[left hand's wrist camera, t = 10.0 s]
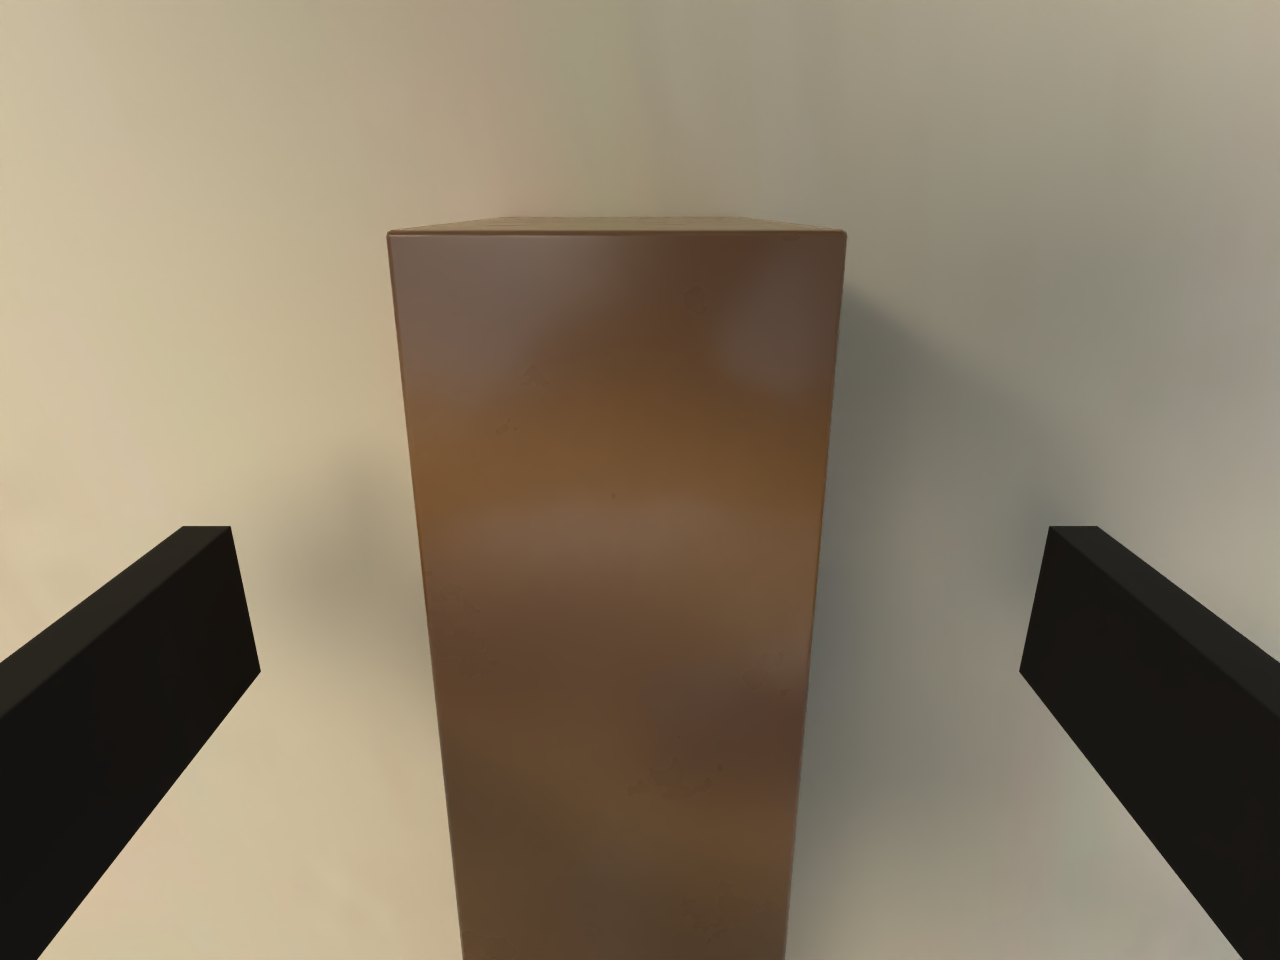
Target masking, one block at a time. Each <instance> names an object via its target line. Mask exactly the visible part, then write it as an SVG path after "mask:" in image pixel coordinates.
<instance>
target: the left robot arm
mask: <svg viewBox="0 0 1280 960" xmlns="http://www.w3.org/2000/svg"><path fill="white" fill-rule="evenodd" d="M260 672H261V670H260V665H259V660H258V655H257V651H256V646H255V641H254V636H253V631H252V627H251V622H250V617H249V612H248V607H247V603H246V598H245V593H244V588H243V583H242V579H241V574H240V569H239V564H238V559H237V555H236V550H235V545H234V540H233V535H232V531H231V526H182V527H181V528H180V529H178V530H177V531H176V532H174V533H173V534H172V535H170V536H169V537H168V538H166V539H165V540H164V541H162V542H161V543H160V544H158V545H157V546H156V547H154V548H153V549H152V550H150V551H149V552H148V553H146V554H145V555H144V556H142V557H141V558H140V559H138V560H137V561H136V562H134V563H133V564H132V565H130V566H129V567H128V568H126V569H125V570H124V571H122V572H121V573H120V574H118V575H117V576H116V577H114V578H113V579H112V580H110V581H109V582H108V583H106V584H105V585H104V586H102V587H101V588H100V589H98V590H97V591H96V592H94V593H93V594H92V595H90V596H89V597H88V598H86V599H85V600H84V601H82V602H81V603H80V604H78V605H77V606H76V607H74V608H73V609H72V610H70V611H69V612H68V613H66V614H65V615H64V616H62V617H61V618H60V619H58V620H57V621H56V622H54V623H53V624H52V625H50V626H49V627H48V628H46V629H45V630H44V631H42V632H41V633H40V634H38V635H37V636H36V637H34V638H33V639H32V640H30V641H29V642H28V643H26V644H25V645H24V646H22V647H21V648H20V649H18V650H17V651H16V652H14V653H13V654H12V655H10V656H9V657H8V658H6V659H5V660H4V661H2V662H1V663H0V960H37V959H38V958H39V956H40V955H41V954H42V953H43V951H44V950H45V949H46V947H47V946H48V945H49V944H50V942H51V941H52V940H53V938H54V937H55V936H56V935H57V933H58V932H59V931H60V929H61V928H62V927H63V926H64V924H65V923H66V922H67V920H68V919H69V918H70V917H71V915H72V914H73V913H74V911H75V910H76V909H77V908H78V906H79V905H80V904H81V902H82V901H83V900H84V898H85V897H86V896H87V895H88V893H89V892H90V891H91V889H92V888H93V887H94V886H95V884H96V883H97V882H98V880H99V879H100V878H101V877H102V875H103V874H104V873H105V871H106V870H107V869H108V868H109V866H110V865H111V864H112V862H113V861H114V860H115V859H116V857H117V856H118V855H119V853H120V852H121V851H122V850H123V848H124V847H125V846H126V844H127V843H128V842H129V841H130V839H131V838H132V837H133V835H134V834H135V833H136V832H137V830H138V829H139V828H140V826H141V825H142V824H143V823H144V821H145V820H146V819H147V817H148V816H149V815H150V814H151V812H152V811H153V810H154V808H155V807H156V806H157V805H158V803H159V802H160V801H161V799H162V798H163V797H164V796H165V794H166V793H167V792H168V790H169V789H170V788H171V787H172V785H173V784H174V783H175V781H176V780H177V779H178V778H179V776H180V775H181V774H182V772H183V771H184V770H185V769H186V767H187V766H188V765H189V763H190V762H191V761H192V760H193V758H194V757H195V756H196V754H197V753H198V752H199V750H200V749H201V748H202V747H203V745H204V744H205V743H206V741H207V740H208V739H209V738H210V736H211V735H212V734H213V732H214V731H215V730H216V729H217V727H218V726H219V725H220V723H221V722H222V721H223V720H224V718H225V717H226V716H227V714H228V713H229V712H230V711H231V709H232V708H233V707H234V705H235V704H236V703H237V702H238V700H239V699H240V698H241V696H242V695H243V694H244V693H245V691H246V690H247V689H248V687H249V686H250V685H251V684H252V682H253V681H254V680H255V678H256V677H257V676H258V675H259V673H260ZM1019 672H1020V673H1021V675H1022V676H1023V677H1024V678H1025V680H1026V681H1027V682H1028V684H1029V685H1030V686H1031V687H1032V689H1033V690H1034V691H1035V693H1036V694H1037V695H1038V696H1039V698H1040V699H1041V700H1042V702H1043V703H1044V704H1045V705H1046V707H1047V708H1048V709H1049V711H1050V712H1051V713H1052V714H1053V716H1054V717H1055V718H1056V720H1057V721H1058V722H1059V723H1060V725H1061V726H1062V727H1063V729H1064V730H1065V731H1066V732H1067V734H1068V735H1069V736H1070V738H1071V739H1072V740H1073V741H1074V743H1075V744H1076V745H1077V747H1078V748H1079V749H1080V750H1081V752H1082V753H1083V754H1084V756H1085V757H1086V758H1087V760H1088V761H1089V762H1090V763H1091V765H1092V766H1093V767H1094V769H1095V770H1096V771H1097V772H1098V774H1099V775H1100V776H1101V778H1102V779H1103V780H1104V781H1105V783H1106V784H1107V785H1108V787H1109V788H1110V789H1111V790H1112V792H1113V793H1114V794H1115V796H1116V797H1117V798H1118V799H1119V801H1120V802H1121V803H1122V805H1123V806H1124V807H1125V808H1126V810H1127V811H1128V812H1129V814H1130V815H1131V816H1132V817H1133V819H1134V820H1135V821H1136V823H1137V824H1138V825H1139V826H1140V828H1141V829H1142V830H1143V832H1144V833H1145V834H1146V835H1147V837H1148V838H1149V839H1150V841H1151V842H1152V843H1153V844H1154V846H1155V847H1156V848H1157V850H1158V851H1159V852H1160V853H1161V855H1162V856H1163V857H1164V859H1165V860H1166V861H1167V862H1168V864H1169V865H1170V866H1171V868H1172V869H1173V870H1174V871H1175V873H1176V874H1177V875H1178V877H1179V878H1180V879H1181V880H1182V882H1183V883H1184V884H1185V886H1186V887H1187V888H1188V889H1189V891H1190V892H1191V893H1192V895H1193V896H1194V897H1195V898H1196V900H1197V901H1198V902H1199V904H1200V905H1201V906H1202V908H1203V909H1204V910H1205V911H1206V913H1207V914H1208V915H1209V917H1210V918H1211V919H1212V920H1213V922H1214V923H1215V924H1216V926H1217V927H1218V928H1219V929H1220V931H1221V932H1222V933H1223V935H1224V936H1225V937H1226V938H1227V940H1228V941H1229V942H1230V944H1231V945H1232V946H1233V947H1234V949H1235V950H1236V951H1237V953H1238V954H1239V955H1240V956H1241V958H1242V959H1243V960H1280V663H1279V662H1278V661H1276V660H1275V659H1274V658H1272V657H1271V656H1270V655H1268V654H1267V653H1266V652H1264V651H1263V650H1262V649H1260V648H1259V647H1258V646H1256V645H1255V644H1254V643H1252V642H1251V641H1250V640H1248V639H1247V638H1246V637H1244V636H1243V635H1242V634H1240V633H1239V632H1238V631H1236V630H1235V629H1234V628H1232V627H1231V626H1230V625H1228V624H1227V623H1226V622H1224V621H1223V620H1222V619H1220V618H1219V617H1218V616H1216V615H1215V614H1214V613H1212V612H1211V611H1210V610H1208V609H1207V608H1206V607H1204V606H1203V605H1202V604H1200V603H1199V602H1198V601H1196V600H1195V599H1194V598H1192V597H1191V596H1190V595H1188V594H1187V593H1186V592H1184V591H1183V590H1182V589H1180V588H1179V587H1178V586H1176V585H1175V584H1174V583H1172V582H1171V581H1170V580H1168V579H1167V578H1166V577H1164V576H1163V575H1162V574H1160V573H1159V572H1158V571H1156V570H1155V569H1154V568H1152V567H1151V566H1150V565H1148V564H1147V563H1146V562H1144V561H1143V560H1142V559H1140V558H1139V557H1138V556H1136V555H1135V554H1134V553H1132V552H1131V551H1130V550H1128V549H1127V548H1126V547H1124V546H1123V545H1122V544H1120V543H1119V542H1118V541H1116V540H1115V539H1114V538H1112V537H1111V536H1110V535H1108V534H1107V533H1106V532H1104V531H1103V530H1102V529H1100V528H1099V527H1098V526H1049V531H1048V535H1047V540H1046V545H1045V550H1044V555H1043V559H1042V564H1041V569H1040V574H1039V579H1038V583H1037V588H1036V593H1035V598H1034V603H1033V607H1032V612H1031V617H1030V622H1029V627H1028V631H1027V636H1026V641H1025V646H1024V651H1023V655H1022V660H1021V665H1020V670H1019Z"/></svg>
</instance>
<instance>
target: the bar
mask: <svg viewBox="0 0 1280 960" xmlns="http://www.w3.org/2000/svg"><path fill="white" fill-rule="evenodd" d="M386 239H387V249H388V258H389V267H390V277H391V286H392V296H393V305H394V314H395V324H396V333H397V343H398V352H399V362H400V371H401V380H402V390H403V399H404V409H405V418H406V428H407V437H408V446H409V456H410V465H411V475H412V484H413V494H414V503H415V512H416V522H417V531H418V541H419V550H420V560H421V569H422V578H423V588H424V597H425V607H426V616H427V625H428V635H429V644H430V654H431V663H432V673H433V682H434V691H435V701H436V710H437V720H438V729H439V739H440V748H441V757H442V767H443V776H444V786H445V795H446V805H447V814H448V823H449V833H450V842H451V852H452V861H453V870H454V880H455V889H456V899H457V908H458V918H459V927H460V936H461V946H462V955H463V960H785V952H786V941H787V929H788V918H789V906H790V895H791V883H792V871H793V860H794V848H795V837H796V825H797V813H798V802H799V790H800V779H801V767H802V755H803V744H804V732H805V721H806V709H807V698H808V686H809V674H810V663H811V651H812V640H813V628H814V616H815V605H816V593H817V582H818V570H819V558H820V547H821V535H822V524H823V512H824V501H825V489H826V477H827V466H828V454H829V443H830V431H831V419H832V408H833V396H834V385H835V373H836V361H837V350H838V338H839V327H840V315H841V304H842V292H843V280H844V269H845V257H846V246H847V233H846V231H843V230H839V229H831V228H823V227H815V226H807V225H799V224H791V223H783V222H775V221H767V220H759V219H751V218H743V217H501V218H492V219H484V220H475V221H466V222H458V223H449V224H441V225H432V226H423V227H415V228H406V229H398V230H391V231H389V232H387V236H386Z"/></svg>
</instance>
